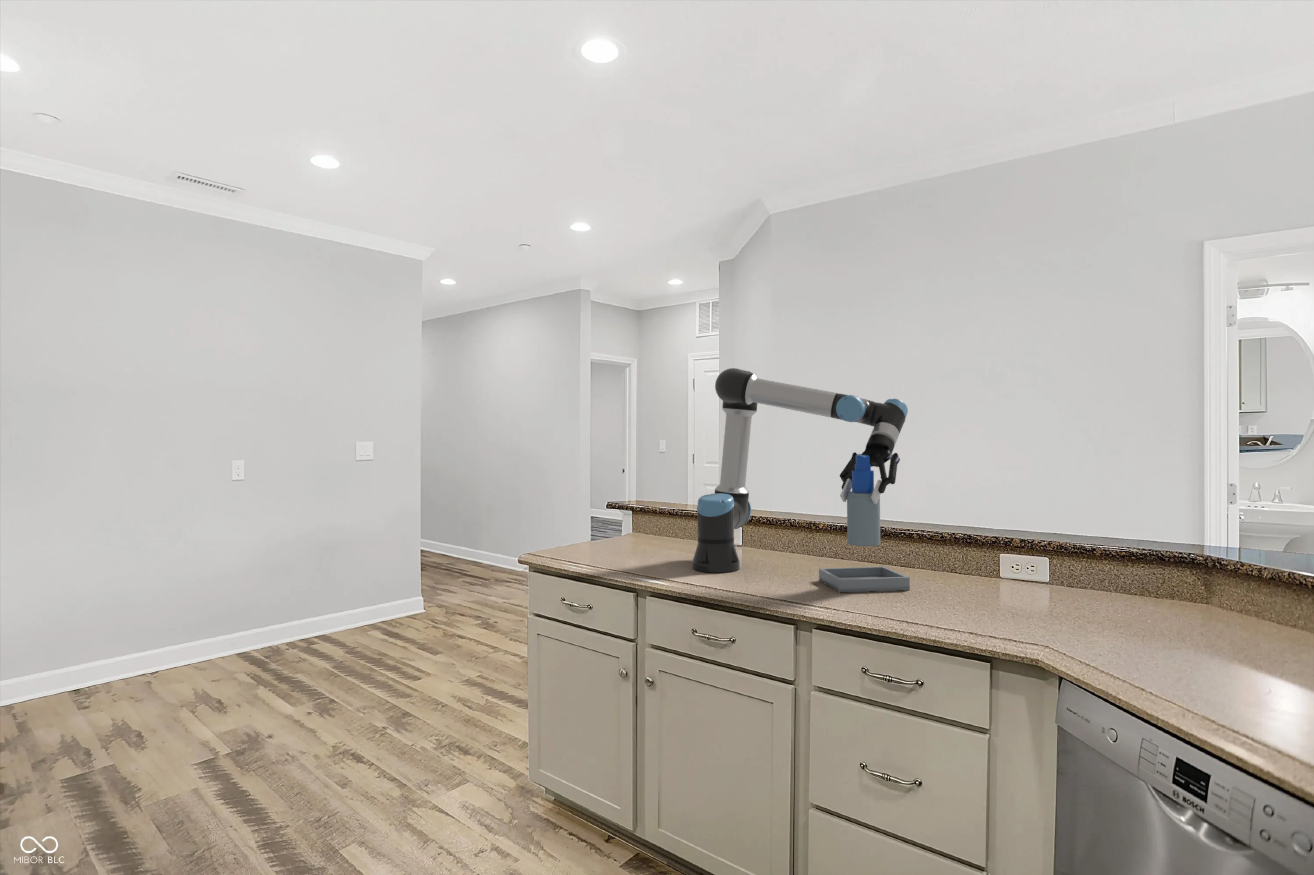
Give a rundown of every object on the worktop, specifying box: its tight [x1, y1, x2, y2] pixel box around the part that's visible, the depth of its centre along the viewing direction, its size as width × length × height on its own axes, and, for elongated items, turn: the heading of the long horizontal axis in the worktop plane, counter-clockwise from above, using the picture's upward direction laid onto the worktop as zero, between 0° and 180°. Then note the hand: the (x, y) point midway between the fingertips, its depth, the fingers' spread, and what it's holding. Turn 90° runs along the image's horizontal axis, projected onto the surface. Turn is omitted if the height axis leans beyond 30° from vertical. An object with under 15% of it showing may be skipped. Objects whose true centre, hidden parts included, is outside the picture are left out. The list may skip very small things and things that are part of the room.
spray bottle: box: [846, 455, 881, 547], centre depth 183 cm, size 9×9×25 cm
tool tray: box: [818, 566, 911, 593], centre depth 183 cm, size 15×20×4 cm
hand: (858, 499), depth 180 cm, fingers closed on spray bottle, 8 cm apart
